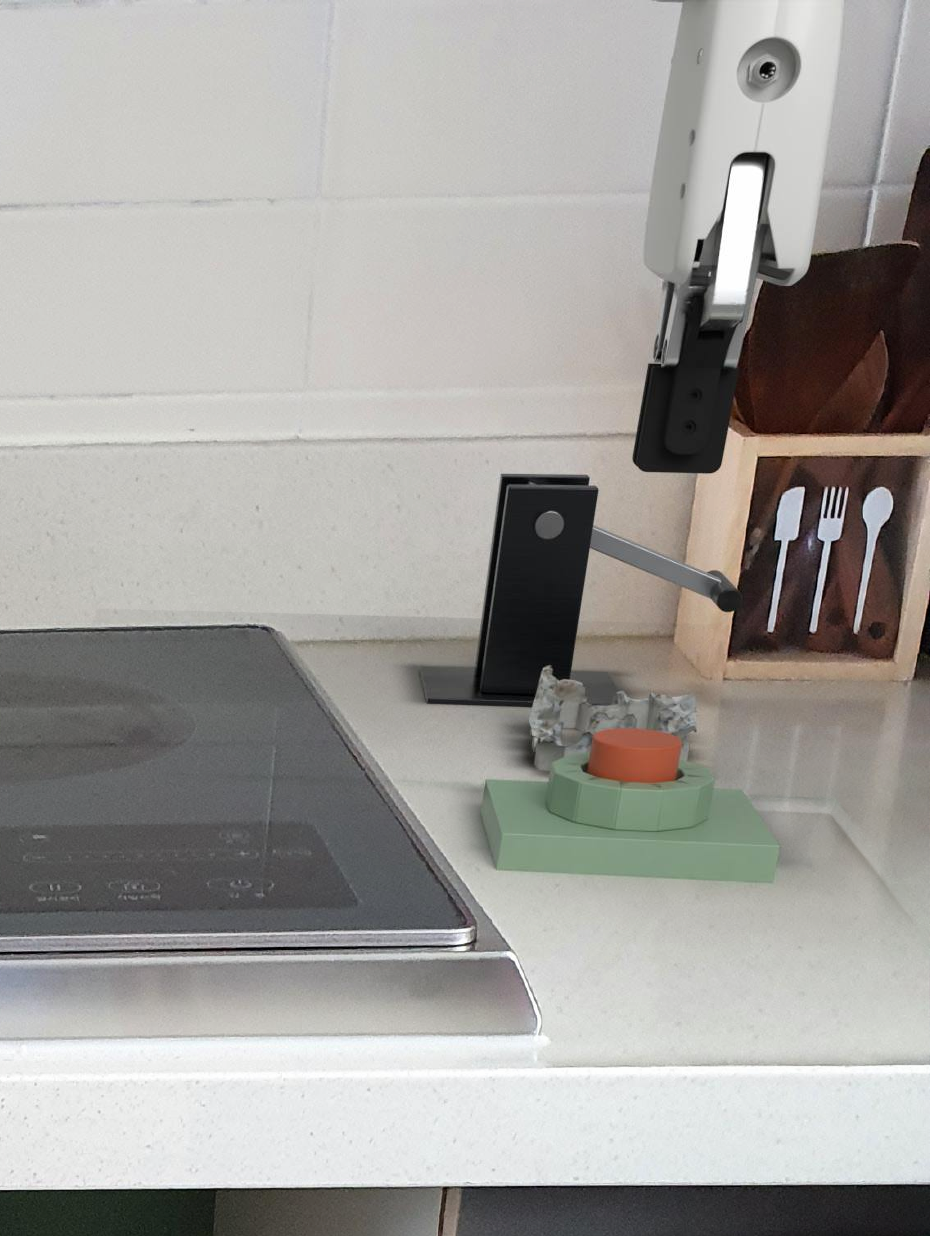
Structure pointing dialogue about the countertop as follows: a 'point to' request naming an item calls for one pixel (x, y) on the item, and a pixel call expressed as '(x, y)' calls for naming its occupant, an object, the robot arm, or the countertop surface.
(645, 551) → the lever
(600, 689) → the bracket
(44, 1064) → the countertop surface
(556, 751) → the egg carton
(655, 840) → the button box
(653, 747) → the button
